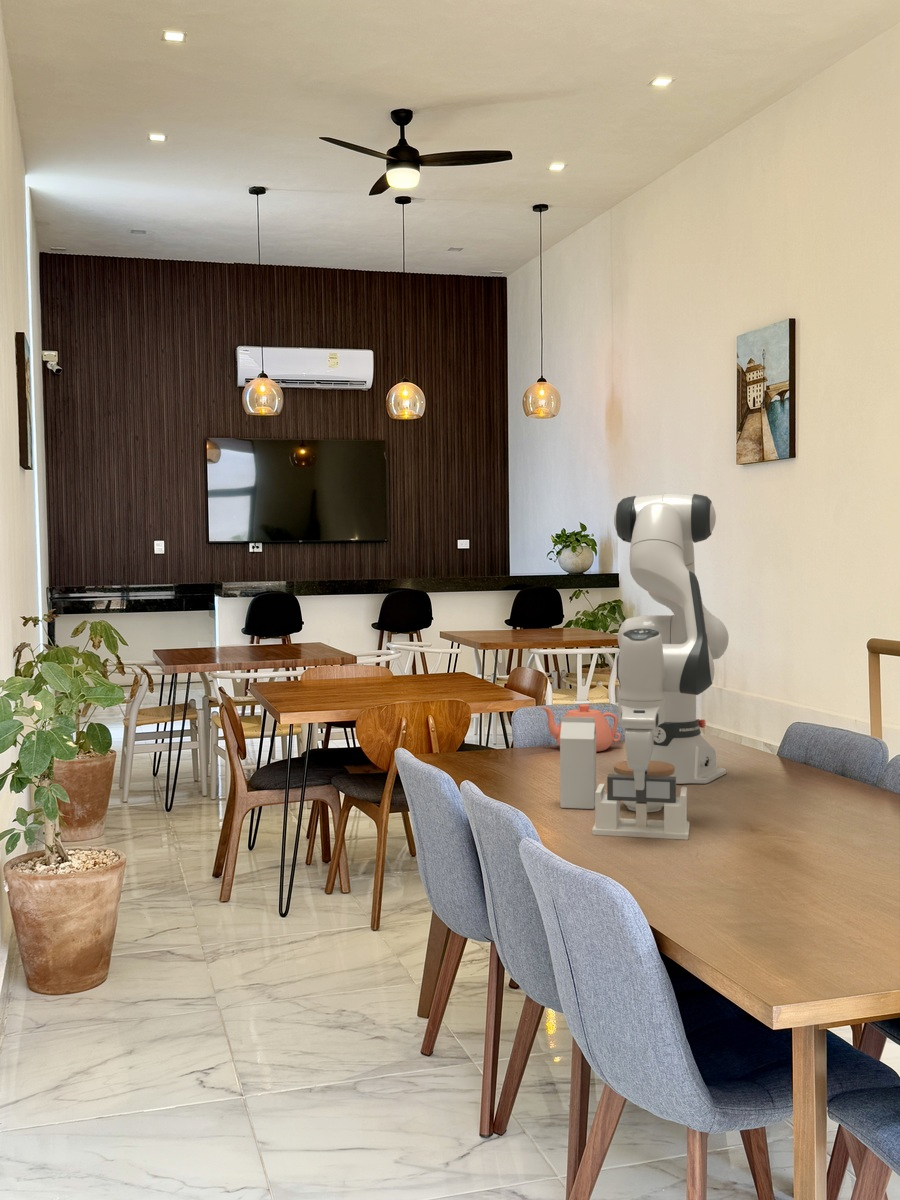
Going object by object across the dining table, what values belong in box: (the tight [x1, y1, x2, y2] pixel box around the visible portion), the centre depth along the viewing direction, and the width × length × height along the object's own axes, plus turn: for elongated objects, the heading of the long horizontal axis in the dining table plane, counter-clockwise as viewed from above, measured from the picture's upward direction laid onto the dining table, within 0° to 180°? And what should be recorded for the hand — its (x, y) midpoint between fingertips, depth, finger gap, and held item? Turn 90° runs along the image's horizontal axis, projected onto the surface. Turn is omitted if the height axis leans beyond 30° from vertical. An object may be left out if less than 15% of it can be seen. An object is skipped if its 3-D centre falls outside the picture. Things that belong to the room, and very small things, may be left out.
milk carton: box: [559, 716, 597, 810], centre depth 232 cm, size 7×7×19 cm
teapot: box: [540, 703, 622, 753], centre depth 299 cm, size 22×16×12 cm
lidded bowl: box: [613, 760, 675, 813], centre depth 229 cm, size 13×13×11 cm
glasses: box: [606, 773, 677, 803], centre depth 211 cm, size 13×3×4 cm, turn 76°
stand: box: [591, 783, 691, 841], centre depth 211 cm, size 18×10×8 cm, turn 76°
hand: (641, 784), depth 210 cm, fingers open, 8 cm apart
